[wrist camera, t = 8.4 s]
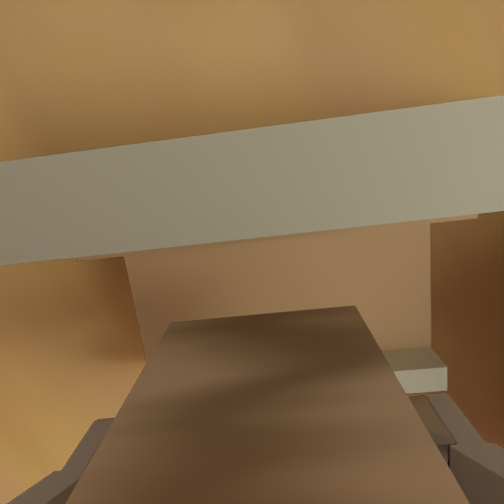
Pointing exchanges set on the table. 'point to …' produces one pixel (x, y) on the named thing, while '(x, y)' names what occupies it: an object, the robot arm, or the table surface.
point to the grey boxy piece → (272, 218)
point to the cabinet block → (268, 420)
